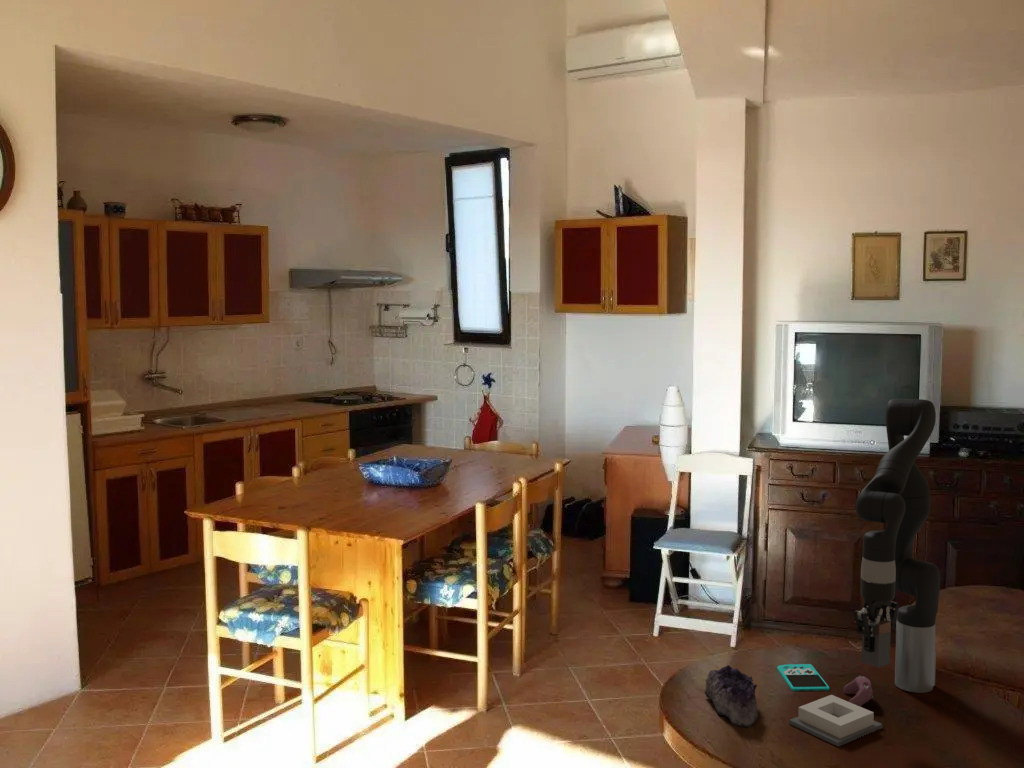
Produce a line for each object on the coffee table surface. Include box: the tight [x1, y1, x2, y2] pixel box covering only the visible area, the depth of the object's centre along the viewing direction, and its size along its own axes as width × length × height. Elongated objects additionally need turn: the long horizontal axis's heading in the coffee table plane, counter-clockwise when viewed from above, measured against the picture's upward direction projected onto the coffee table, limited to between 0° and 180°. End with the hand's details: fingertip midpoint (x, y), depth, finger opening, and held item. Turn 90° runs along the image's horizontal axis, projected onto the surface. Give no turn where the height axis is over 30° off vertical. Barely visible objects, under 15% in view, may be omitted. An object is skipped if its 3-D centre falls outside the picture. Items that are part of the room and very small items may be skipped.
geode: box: [704, 664, 759, 729], centre depth 240 cm, size 20×12×10 cm, turn 7°
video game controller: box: [843, 675, 874, 707], centre depth 244 cm, size 10×5×7 cm, turn 170°
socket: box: [788, 694, 883, 747], centre depth 231 cm, size 16×14×4 cm
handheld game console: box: [776, 663, 831, 692], centre depth 259 cm, size 10×16×1 cm, turn 0°
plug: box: [861, 619, 892, 668], centre depth 227 cm, size 4×4×10 cm
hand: (875, 648), depth 227 cm, fingers closed on plug, 4 cm apart
